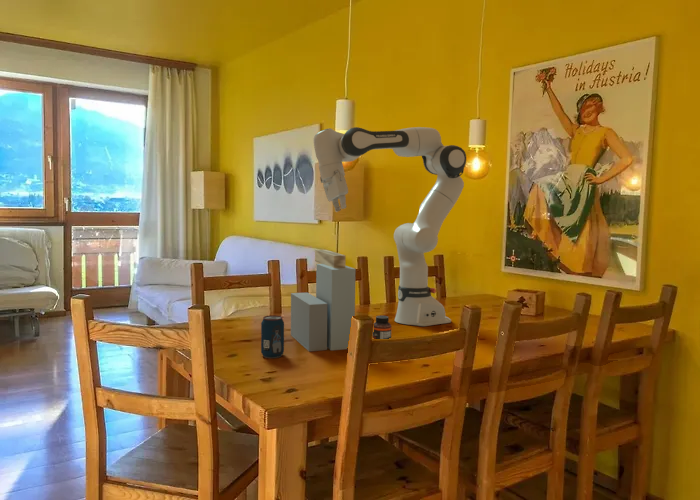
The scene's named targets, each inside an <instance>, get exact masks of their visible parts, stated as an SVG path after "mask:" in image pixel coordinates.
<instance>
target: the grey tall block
mask: <svg viewBox="0 0 700 500" xmlns="http://www.w3.org/2000/svg"><path fill="white" fill-rule="evenodd" d="M315 268H316V271H315V273H316V276H315V277H316V279H315V280H316V281H315V282H316V284H315V287H316V288H315V297H316V298H318V299H320V300H322V301H324V302H325V303H327V304H328V307H327V350H328V349H329V350H330V351H340V350H341V351H342V350H348V349H347V347H348V341H349V334H350V327H351V318H352V316H355V317H356V315H355V314H356V271H357V269H356V268H354V267H351V266H348V265H345V268H332V267H330V266H327V265H324V264H321V263H316V266H315Z"/></svg>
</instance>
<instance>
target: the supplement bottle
mask: <svg viewBox="0 0 700 500" xmlns="http://www.w3.org/2000/svg"><path fill="white" fill-rule="evenodd" d="M373 324H374V332H373V331H372V338H374V339H389V338H391V339H392V324H391V323H390V322H389V316H387V315H376V316H375V322H374V323H373Z"/></svg>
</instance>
